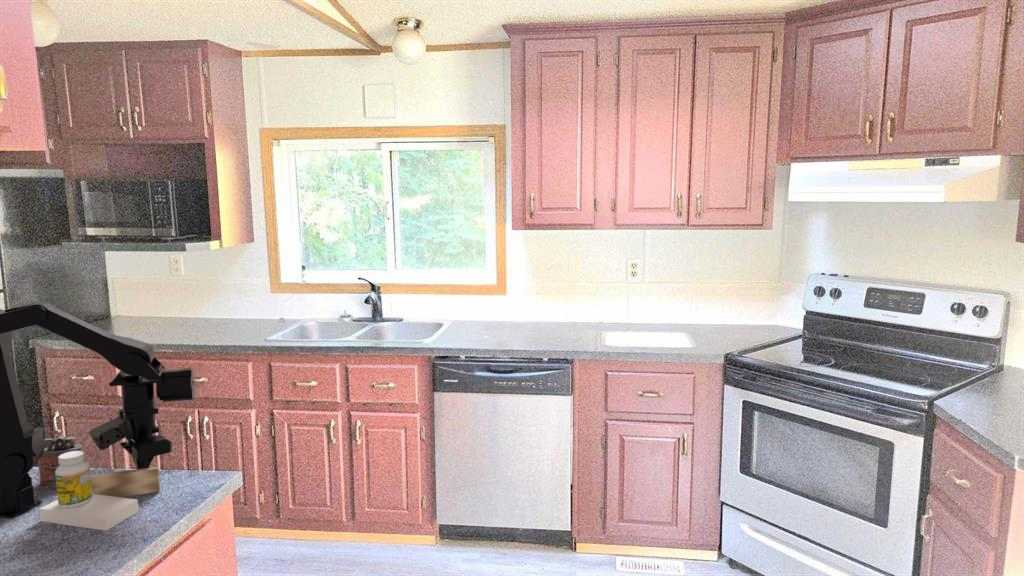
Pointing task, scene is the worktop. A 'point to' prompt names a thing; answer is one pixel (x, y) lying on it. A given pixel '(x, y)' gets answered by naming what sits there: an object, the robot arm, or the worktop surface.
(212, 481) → the worktop surface
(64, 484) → the supplement bottle
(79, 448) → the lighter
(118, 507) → the white slab
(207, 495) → the worktop surface
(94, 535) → the worktop surface
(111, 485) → the wooden board
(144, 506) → the worktop surface
